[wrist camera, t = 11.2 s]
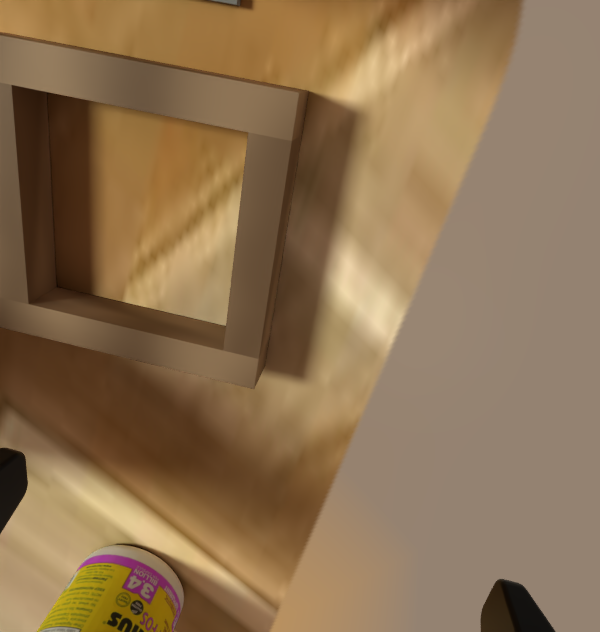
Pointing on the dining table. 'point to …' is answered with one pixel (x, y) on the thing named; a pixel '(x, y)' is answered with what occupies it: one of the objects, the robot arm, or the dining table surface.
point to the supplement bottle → (118, 594)
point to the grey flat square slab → (228, 2)
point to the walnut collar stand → (37, 210)
